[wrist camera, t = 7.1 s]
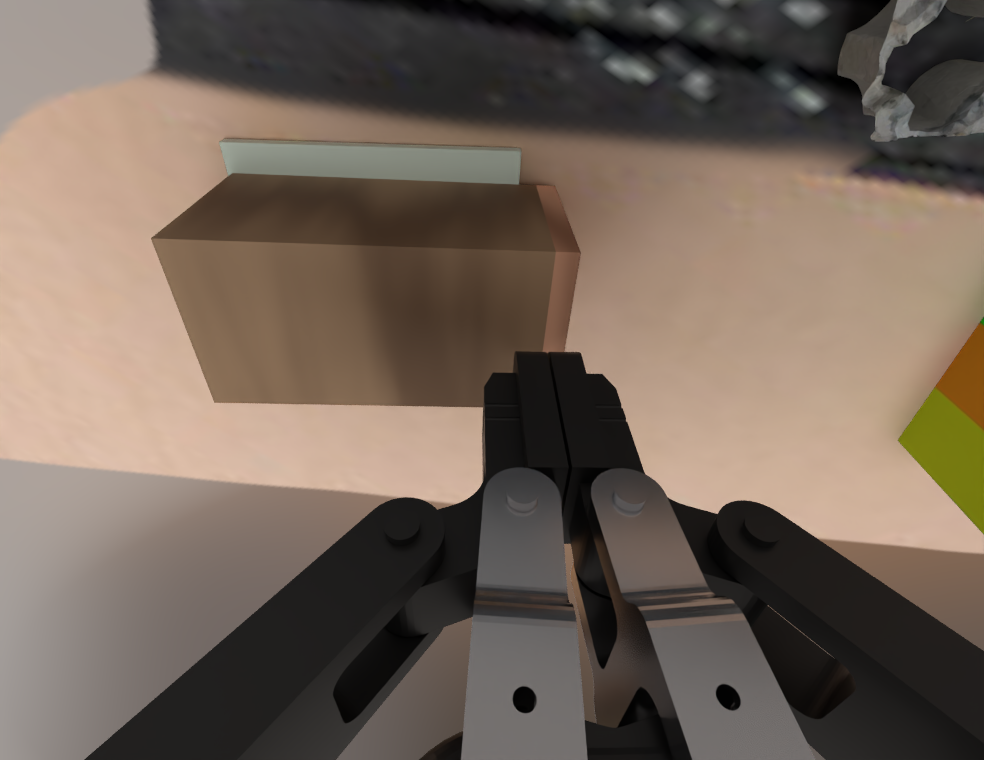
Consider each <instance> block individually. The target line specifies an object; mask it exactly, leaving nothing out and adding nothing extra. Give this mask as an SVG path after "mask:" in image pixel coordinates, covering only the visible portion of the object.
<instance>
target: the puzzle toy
mask: <svg viewBox="0 0 984 760" xmlns="http://www.w3.org/2000/svg"><path fill="white" fill-rule="evenodd" d="M898 441H899V442H900V443H901V445H902V446H903V447H904V448H905V449H906V450H907V451H908V452H909V453H910V454H911V456H912V457H913V458H914V459H915V460H916V461H917V462H918V463H919V464H920V465H921V466H922V468H923V469H924V470H925V471H926V472H927V473H928V474H929V475H930V476H931V477H932V478H933V480H934V481H935V482H936V483H937V484H938V485H939V486H940V487H941V488H942V489H943V491H944V492H945V493H946V494H947V495H948V496H949V497H950V498H951V499H952V500H953V501H954V503H955V504H956V505H957V506H958V507H959V508H960V509H961V510H962V511H963V512H964V513H965V515H966V516H967V517H968V518H969V519H970V520H971V521H972V522H973V523H974V524H975V525H976V527H977V528H978V529H979V530H980V531H981V532H982V533H983V534H984V318H983V319H982V320H981V322H980V323H979V325H978V326H977V328H976V329H975V330H974V332H973V333H972V335H971V336H970V338H969V339H968V340H967V342H966V343H965V345H964V346H963V348H962V349H961V351H960V352H959V353H958V355H957V356H956V358H955V359H954V361H953V362H952V363H951V365H950V366H949V368H948V369H947V371H946V372H945V373H944V375H943V376H942V378H941V379H940V381H939V382H938V383H937V385H936V386H935V388H934V389H933V391H932V392H931V394H930V395H929V396H928V398H927V399H926V401H925V402H924V404H923V405H922V406H921V408H920V409H919V411H918V412H917V414H916V415H915V416H914V418H913V419H912V421H911V422H910V424H909V425H908V426H907V428H906V429H905V431H904V432H903V434H902V435H901V437H900V438H899V439H898Z"/></svg>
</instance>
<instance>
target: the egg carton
mask: <svg viewBox="0 0 984 760" xmlns="http://www.w3.org/2000/svg"><path fill="white" fill-rule="evenodd" d="M944 6H946V8H947V9H948V10H950V11H951V12H952V13H956V14H960V15H963V16H973V17H972V18H970V19H969V20H971V19H973V18H975V17H981V18H984V0H890V2H889V3H888V4H887V5H886V6H885V7H884V8H883V9H882V10H881V11H880V13H879V14H878V15H877V16H875V17H874V18H873V19H872V20H870V21H869V22H868V23H867V24H865V25H864V26H862V27H860V28H858V29H856V30H853V31H851V32H849V33H847V35H846V38H845V41H844V44H843V46H842V49H841V51H840V56H839V61H838V75H839V76H842V77H846V78H850V79H852V80H853V81H854V82H856V83H857V84H858V85H859V88H860V90H861V93H862V104H863V114H864V115H871V116H875V132H874V133H873V134H872V135H871V136H870V137H871V140H873V141H878V142H888V141H897V140H898V139H897V138H906V137H920V136H944V137H945V136H965V135H969V134H972V133H983V132H984V63H983V62H977V61H970V60H964V59H955V60H948V61H945V62H943V63H940V64H938V65H936V66H934V67H933V68H931V69H930V70H928V71H927V72H925V73H924V74H923V75H921V76H920V77H919V78H918V79H917V80H916V81H915V82H914V83H913V84H912V85H911V86H910V88H909V89H908V90H907V92H906V93H905V94H904V93H902V92H901V91H899V90H896V89H894V88H891V87H889V86H885V85H882V83H881V81H882V79H883V76H884V73H885V64H886V62H887V60H888V58H889V56H890V54H891V52H892V50H893V48H894V47H898V46H902V45H906V44H907V43H908V42H909V40H910V39H911V37H912V36H913V34H915V33H916V32H918V31H919V30H920V29H922V28H923V27H925V26H926V25H928V24H929V23H931V22H932V21H933V20H935V19H936V18H937V17H938V15H939V14H940V12H941V11H942V9H943V7H944ZM967 21H968V20H967ZM965 22H966V21H965Z"/></svg>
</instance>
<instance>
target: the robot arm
mask: <svg viewBox="0 0 984 760" xmlns="http://www.w3.org/2000/svg"><path fill="white" fill-rule="evenodd" d="M482 449H483V483H482V485H481V487H480V488H479V489H478V491H477V492H476V493H475V494H474V495H472V496H471V497H470V498H468V499H467V500H465V501H463V502H461V503H458V504H455V505H452V506H449V507H445V508H442V509H439V510H437V509H436V508H435V507H433V506H432V505H431V504H429V503H428V502H426V501H423V500H421V499H417V498H407V497H405V498H397V499H393V500H390V501H387V502H385V503H383V504H381V505H379V506H378V507H377V508H375V509H374V510H373V511H372V512H370V513H369V514H368V515H367V516H366V517H365V518H364V519H362V520H361V521H360V522H359V523H358V524H357V525H355V526H354V527H353V528H352V529H351V530H350V531H349V532H347V533H346V534H345V535H344V536H343V537H342V538H340V539H339V540H338V541H337V542H336V543H335V544H333V545H332V546H331V547H330V548H329V549H328V550H326V551H325V552H324V553H323V554H322V555H321V556H320V557H318V558H317V559H316V560H315V561H314V562H313V563H311V564H310V565H309V566H308V567H307V568H306V569H305V570H303V571H302V572H301V573H300V574H299V575H298V576H296V577H295V578H294V579H293V580H292V581H291V582H289V583H288V584H287V585H286V586H285V587H284V588H283V589H281V590H280V591H279V592H278V593H277V594H276V595H274V596H273V597H272V598H271V599H270V600H269V601H267V602H266V603H265V604H264V605H263V606H262V607H261V608H259V609H258V610H257V611H256V612H255V613H254V614H252V615H251V616H250V617H249V618H248V619H247V620H245V621H244V622H243V623H242V624H241V625H240V626H239V627H237V628H236V629H235V630H234V631H233V632H232V633H231V634H229V635H228V636H227V637H226V638H225V639H224V640H222V641H221V642H220V643H219V644H218V645H217V646H215V647H214V648H213V649H212V650H211V651H210V652H208V653H207V654H206V655H205V656H204V657H203V658H202V659H200V660H199V661H198V662H197V663H196V664H195V665H194V666H192V667H191V668H190V669H189V670H188V671H186V672H185V673H184V674H183V675H182V676H181V677H180V678H178V679H177V680H176V681H175V682H174V683H173V684H172V685H170V686H169V687H168V688H167V689H166V690H165V691H164V692H162V693H161V694H160V695H159V696H158V697H157V698H155V699H154V700H153V701H152V702H151V703H149V704H148V705H147V706H146V707H145V708H144V709H142V711H140V712H139V713H138V714H137V715H136V716H134V717H133V718H132V719H131V720H130V721H129V722H127V723H126V724H125V725H124V726H123V727H122V728H120V729H119V730H118V731H117V732H116V733H115V734H113V735H112V736H111V737H110V738H109V739H108V740H107V741H105V742H104V743H103V744H102V745H101V746H100V747H99V748H97V749H96V750H95V751H94V752H93V753H92V754H90V755H89V756H88V757H87V758H86V759H85V760H336V759H337V758H338V756H339V755H340V754H341V753H342V752H343V750H344V749H345V748H346V747H347V746H348V744H349V743H350V742H351V741H352V739H353V738H354V737H355V736H356V735H357V733H358V732H359V731H360V730H361V729H362V727H363V726H364V725H365V724H366V723H367V721H368V720H369V719H370V718H371V717H372V715H373V714H374V713H375V712H376V711H377V709H378V708H379V707H380V705H381V704H382V703H383V702H384V701H385V700H386V698H387V697H388V696H389V695H390V694H391V692H392V691H393V690H394V689H395V687H396V686H397V685H398V684H399V683H400V681H401V680H402V679H403V678H404V677H405V675H406V674H407V673H408V672H409V671H410V669H411V668H412V667H413V666H414V664H415V663H416V662H417V661H418V660H419V658H420V657H421V656H422V655H423V654H424V652H425V651H426V650H427V649H428V647H429V646H430V645H431V644H432V643H433V642H434V640H435V639H436V638H437V636H438V635H439V634H440V633H441V631H442V630H443V628H444V627H445V626H448V625H451V624H454V623H457V622H459V621H462V620H465V619H467V618H470V617H473V620H472V632H471V644H470V656H469V669H468V680H467V693H466V705H465V718H464V729H463V731H462V732H459V733H457V734H455V735H453V736H451V737H450V738H448V739H446V740H444V741H442V742H441V743H439V744H438V745H437V746H435V747H434V748H432V749H431V750H430V751H428V752H427V753H426V754H425V755H424V756H423V757H422V758H421V759H419V760H816V759H815V757H814V755H813V753H812V751H811V749H810V747H809V745H810V746H812V747H813V748H814V749H815V750H816V751H817V752H818V753H819V754H820V755H821V756H822V757H824V758H825V759H826V760H984V651H983V650H981V649H980V648H978V647H977V646H975V645H974V644H972V643H971V642H969V641H968V640H966V639H965V638H964V637H962V636H961V635H959V634H958V633H956V632H955V631H953V630H952V629H950V628H948V627H947V626H946V625H944V624H943V623H941V622H940V621H938V620H937V619H935V618H934V617H932V616H931V615H929V614H928V613H926V612H925V611H924V610H922V609H921V608H919V607H918V606H916V605H915V604H913V603H912V602H910V601H909V600H907V599H906V598H904V597H903V596H901V595H900V594H898V593H897V592H895V591H894V590H892V589H891V588H889V587H888V586H887V585H885V584H884V583H882V582H881V581H879V580H878V579H876V578H875V577H873V576H871V575H870V574H869V573H867V572H866V571H864V570H863V569H861V568H860V567H858V566H857V565H855V564H854V563H852V562H851V561H849V560H848V559H847V558H845V557H843V556H842V555H840V554H839V553H838V552H836V551H835V550H833V549H832V548H830V547H829V546H827V545H826V544H824V543H823V542H821V541H820V540H818V539H817V538H815V537H814V536H812V535H811V534H810V533H808V532H807V531H805V530H804V529H802V528H801V527H799V526H798V525H796V524H795V523H793V522H792V521H790V520H789V519H787V518H786V517H784V516H783V515H781V514H780V513H778V512H777V511H775V510H773V509H772V508H770V507H767V506H765V505H763V504H760V503H756V502H752V501H734V502H731V503H728V504H726V505H725V506H723V507H722V508H721V510H720V511H719V513H718V514H715V513H711V512H708V511H704V510H700V509H697V508H693V507H689V506H686V505H683V504H680V503H677V502H675V501H673V500H671V499H669V498H668V497H667V496H666V494H665V492H664V490H663V489H662V488H661V487H660V485H659V484H658V483H657V482H656V481H654V480H653V479H652V478H650V477H649V476H647V475H645V473H644V470H643V467H642V464H641V461H640V458H639V455H638V452H637V449H636V447H635V444H634V441H633V438H632V435H631V432H630V429H629V426H628V423H627V422H626V417H625V414H624V411H623V408H621V402H620V399H619V396H618V393H617V390H616V388H615V387H614V386H613V385H612V384H611V383H610V382H609V381H608V380H607V379H606V378H605V377H604V376H603V374H586V370H585V367H584V363H583V359H582V356H581V353H580V352H548V353H547V352H531V351H515V354H514V363H513V373H495V372H493V373H492V375H491V376H490V378H489V380H488V381H487V383H486V384H485V386H484V402H483V429H482ZM564 544H571V547H572V553H573V559H574V560H573V564H572V568H571V575H570V578H571V584H572V588H573V592H574V596H575V600H576V605H577V609H578V613H579V617H580V622H581V626H582V630H583V634H584V639H585V643H586V647H587V651H588V655H589V660H590V664H591V668H592V673H593V680H594V708H595V717H596V723H597V724H596V723H592V722H589V721H585V720H584V709H583V696H582V684H581V671H580V659H579V646H578V633H577V622H576V615H575V610H574V607H573V604H572V603H569V600H568V594H567V580H566V567H565V552H564ZM767 605H769V606H770V607H771V608H772V609H774V610H775V611H776V612H777V613H779V614H780V615H781V616H782V617H784V618H785V619H786V620H787V621H789V622H790V623H791V624H792V625H794V626H795V627H796V628H798V629H799V630H800V631H801V632H803V633H804V634H805V635H806V636H808V637H809V638H810V639H811V640H813V641H814V642H815V643H816V644H818V645H819V646H820V647H821V648H823V649H824V650H825V651H826V652H828V653H829V654H830V655H831V656H830V655H829V654H827V653H826V652H825V651H824V650H822V649H821V648H820V647H819V646H817V645H816V644H815V643H814V642H812V641H811V640H810V639H809V638H807V637H806V636H805V635H803V634H802V633H801V632H800V631H799V630H797V629H796V628H794V627H793V626H792V625H791V624H790V623H788V622H787V621H786V620H785V619H783V618H782V617H781V616H780V615H778V614H777V613H776V612H775V611H773V610H772V609H771V608H770V607H768V606H767ZM832 656H833V657H834V658H833V657H832ZM808 744H809V745H808Z"/></svg>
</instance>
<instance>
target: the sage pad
mask: <svg viewBox="0 0 984 760" xmlns="http://www.w3.org/2000/svg"><path fill="white" fill-rule="evenodd" d="M219 144H220V147H221V151H222V155H223V158H224V162H225V165H226V169H227V173H228V176H229V175H231V174H232V173H243V174H268V175H293V176H318V177H343V178H368V179H393V180H418V181H443V182H468V183H494V184H519V178H520V163H521V149H520V148H505V147H473V146H441V145H409V144H377V143H345V142H312V141H280V140H248V139H223V140H222V141H220V142H219Z"/></svg>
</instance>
